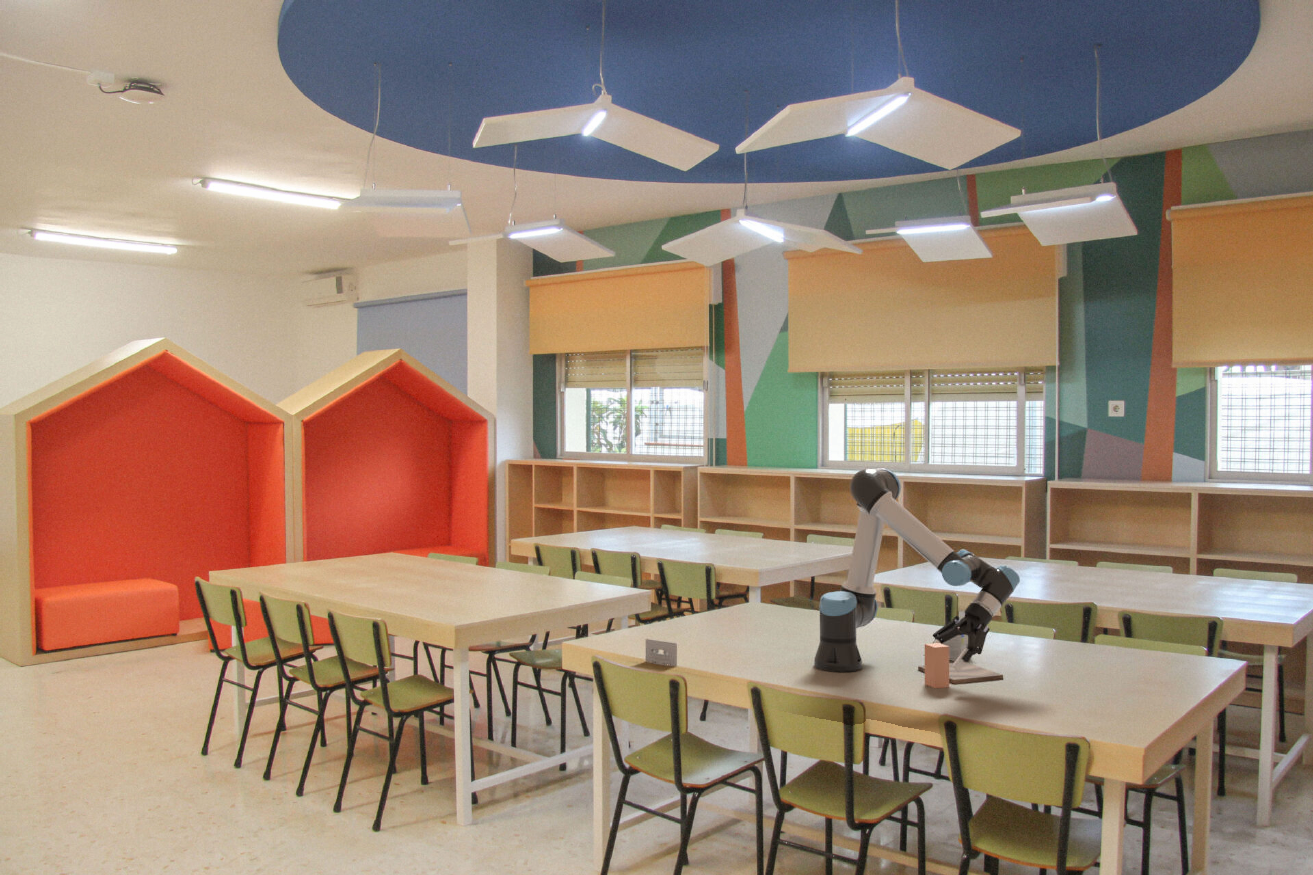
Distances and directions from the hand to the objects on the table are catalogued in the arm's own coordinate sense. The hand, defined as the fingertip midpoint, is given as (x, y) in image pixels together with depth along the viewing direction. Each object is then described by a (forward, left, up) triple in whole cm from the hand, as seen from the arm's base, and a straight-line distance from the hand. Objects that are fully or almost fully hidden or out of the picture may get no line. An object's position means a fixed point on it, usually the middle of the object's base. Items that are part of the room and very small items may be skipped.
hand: (940, 663), depth 272 cm
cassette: (-53, -70, -7) cm, 88 cm away
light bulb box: (-29, +27, -7) cm, 40 cm away
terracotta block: (-1, -1, -7) cm, 7 cm away
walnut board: (-10, +14, -7) cm, 18 cm away
